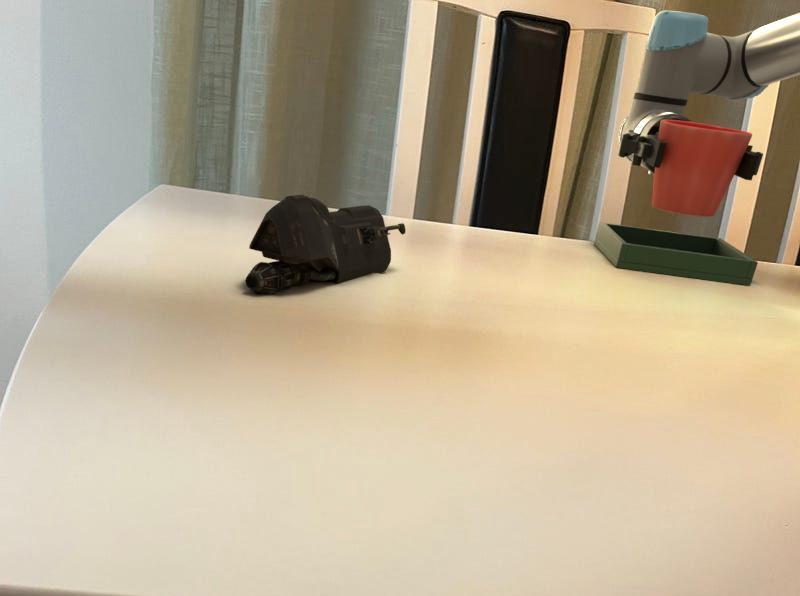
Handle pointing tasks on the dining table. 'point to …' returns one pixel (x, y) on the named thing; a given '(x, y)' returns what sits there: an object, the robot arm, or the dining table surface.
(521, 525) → the dining table surface
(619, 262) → the plant tray
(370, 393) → the dining table surface
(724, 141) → the flower pot
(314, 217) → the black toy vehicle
